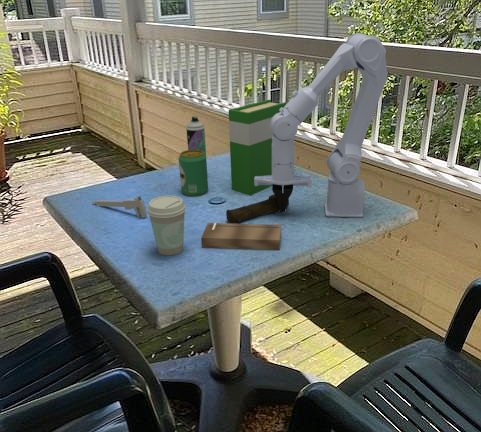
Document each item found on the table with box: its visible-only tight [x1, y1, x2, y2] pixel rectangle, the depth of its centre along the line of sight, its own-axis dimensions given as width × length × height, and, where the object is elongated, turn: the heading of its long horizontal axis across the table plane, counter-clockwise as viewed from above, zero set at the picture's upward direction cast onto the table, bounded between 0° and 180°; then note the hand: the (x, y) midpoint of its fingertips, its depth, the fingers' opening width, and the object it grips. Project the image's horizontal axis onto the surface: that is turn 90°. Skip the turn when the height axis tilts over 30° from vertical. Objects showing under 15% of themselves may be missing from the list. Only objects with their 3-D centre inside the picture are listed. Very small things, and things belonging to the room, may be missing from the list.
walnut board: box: [200, 222, 282, 251], centre depth 114 cm, size 18×8×3 cm, turn 83°
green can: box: [178, 149, 209, 197], centre depth 142 cm, size 8×8×12 cm
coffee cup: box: [146, 195, 187, 256], centre depth 109 cm, size 8×8×12 cm
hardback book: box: [228, 99, 289, 197], centre depth 143 cm, size 18×7×24 cm, turn 137°
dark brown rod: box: [225, 192, 290, 224], centre depth 127 cm, size 19×4×5 cm, turn 120°
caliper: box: [91, 195, 147, 219], centre depth 132 cm, size 20×1×6 cm, turn 57°
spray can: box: [186, 115, 209, 179], centre depth 150 cm, size 6×6×20 cm
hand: (282, 211), depth 127 cm, fingers closed
